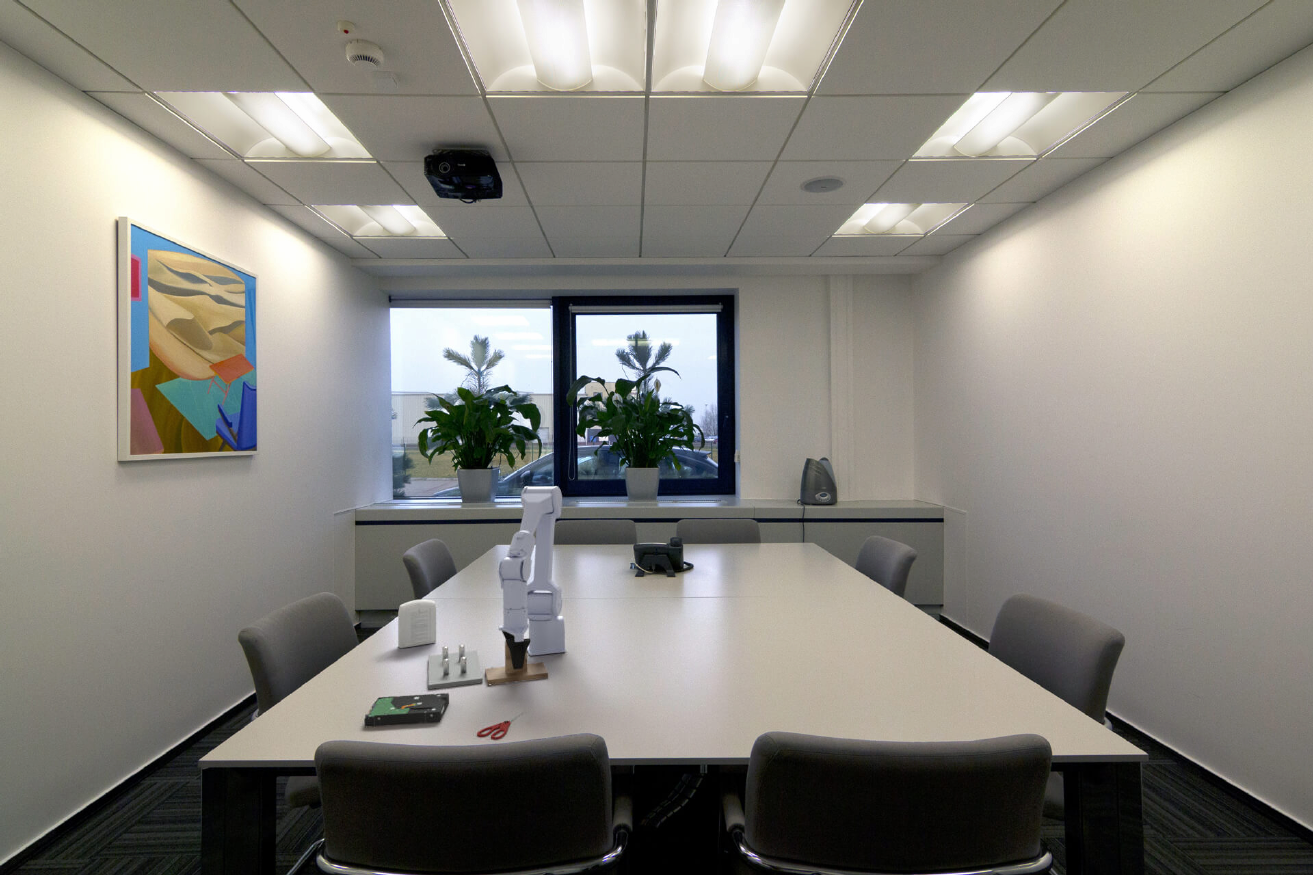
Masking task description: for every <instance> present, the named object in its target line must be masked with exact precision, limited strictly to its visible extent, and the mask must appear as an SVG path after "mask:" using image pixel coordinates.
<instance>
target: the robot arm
mask: <svg viewBox="0 0 1313 875" xmlns="http://www.w3.org/2000/svg"><path fill="white" fill-rule="evenodd" d="M520 502H521V506H522V511H523V514H522V518H521V522H520V527H519V528H520V529H519V531H517V532H515V533H514V534H513V536H512V539H511V542H510V545H509V548H508V551H507V554H506V556H505V557H504V558H503V559H501V560H500V562H499V565H498V566H499V567H498V571H497V572H498V578H499V581H500V588H501V589H502V600H503V601H502V604H503V605H502V606H503V609H502V614H503V618H502V619H503V625H502V624H501V625H498V631H499V632H501V633H502V635H503V637H504V639H505V641H506V644H507V645H508V647H509V650H510V654H511V659H512V665H513V668H514V669H522V668H523V665H524V660H525V654H526V651H527V654H528V655H529V656H542V655H548V654H551V655H552V654H556V653H557V654H558V653H560V654H561V653H566V639H565V638H566V634H565V633H566V630H565V628H566V627H565V620H564V616H563V615H560V614H561V612H562V609H563V597H562V588H561V587H560V586H559V585H558V584H557V583H556V582H555V581H553V578H552V577H553V560H554V558H553V557H554V544H555V542H554V540H555V539H554V538H555V525H556V519H558V518H560V517H561V516H562V514H561V513H562V510H563V509H562V508H563V507H562V506H563V495H562V491H561V489H560V487H559V485H558V486H557V485H555V486H530V485H529V486H527V485H526V486H524V488H523V489H522V490H521V494H520ZM535 533H536V534H535ZM534 534H535V535H536V537H535V536H534ZM534 549H535V550H534ZM533 551H535V552H534V566H533V580H532V581H531V582H529V583H528V581H529V579H530V577H531V572H532V564H533V563H532V562H533V561H532V557H533V556H532V555H533ZM536 591H542V592H536ZM527 631H528V638H524V637H525V633H526V632H527Z"/></svg>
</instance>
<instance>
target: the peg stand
mask: <svg viewBox="0 0 1313 875" xmlns="http://www.w3.org/2000/svg"><path fill="white" fill-rule="evenodd" d="M465 648H466V647H465V644H460V645H458V652H453V653H452V652H451V653H449V646H448V645H447V646H446V645H445V646H442V649H441V650H442V653H441V654H433V655H428V690H434V688H436V689H443V688H450V687H459V686H466V685H467V684H468V685H474V684H482V683H481V682H484V681H483V673H482V670H481V665H480V660H479V655H478V651H477V650H471V651H469V650H468V651H465ZM468 685H467V686H468Z"/></svg>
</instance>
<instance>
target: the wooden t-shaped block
mask: <svg viewBox="0 0 1313 875" xmlns="http://www.w3.org/2000/svg"><path fill="white" fill-rule="evenodd" d="M484 674H485V679H486V684H487V686H490V685H489V684H493V685H499V684H500V683H502V684H507V683H506V682H510V683H516V682H515V681H518V682H523V681H522V680H526V681H532V680H540V679H541V678H542V679H548V678H549V672H548V670H547V668H546V665H545V664H544V662H533V663H528V651H526V654H525V660H524V665H523V668H522V669H514V668H513V665H512V659H511V654H510V650H509V647H508V645H507V644H506V640H505V641H504V666H499V667H498V666H497V667H492V668H491V667H490V668H484ZM542 679H541V680H542ZM500 685H501V684H500Z"/></svg>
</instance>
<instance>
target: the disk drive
mask: <svg viewBox="0 0 1313 875" xmlns="http://www.w3.org/2000/svg"><path fill="white" fill-rule="evenodd" d="M449 704H450V693H449V692H447V693H445V692H444V693H443V692H442V693H440V692H439V693H430V694H429V693H427V694H415V695H410V694H409V695H399V696H397V695H393V696H381V697H377V699H376V700H375V701H374V703H373V704H372V705H371V708H370V709H369V710H368V712H367V713H366V714H365V717H364V725H363V726H365V727H364V728H367V727H366V726H372V727H385V726H387V725H388V726H399V725H402V726H403V725H414V724H415V725H417V724H418V725H419V724H431V723H432V724H433V723H435V724H436V723H440V722H441V721H442V719H443V717H444V715H445V713H446V711H447V709H448V706H449Z"/></svg>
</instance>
